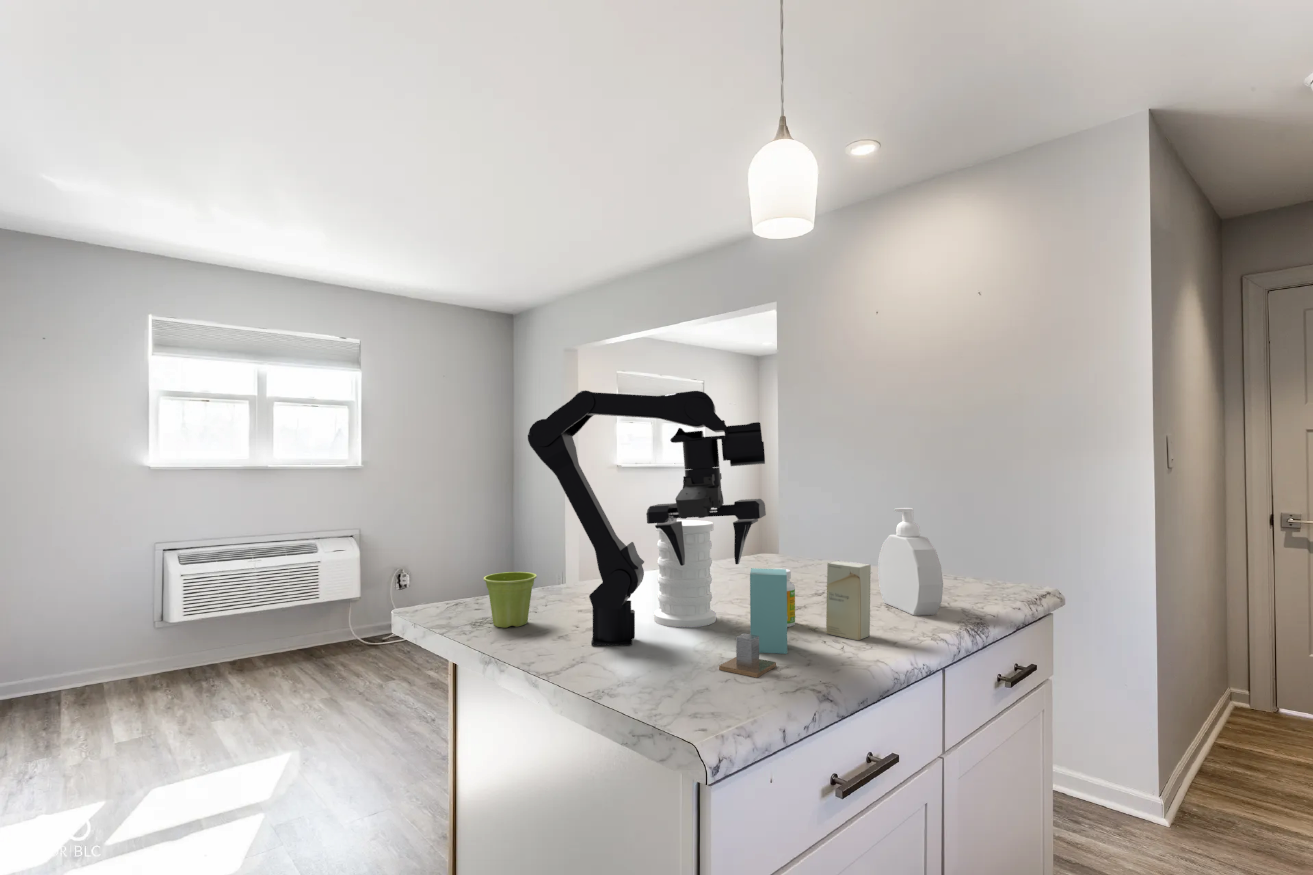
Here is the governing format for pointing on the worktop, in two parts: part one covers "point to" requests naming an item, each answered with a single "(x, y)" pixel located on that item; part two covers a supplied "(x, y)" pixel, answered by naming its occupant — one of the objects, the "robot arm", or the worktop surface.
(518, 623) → the plant pot
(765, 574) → the teal block
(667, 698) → the worktop surface
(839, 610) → the skincare box
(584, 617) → the worktop surface
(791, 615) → the supplement bottle
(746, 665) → the post
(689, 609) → the decorative container
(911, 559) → the soap bottle
